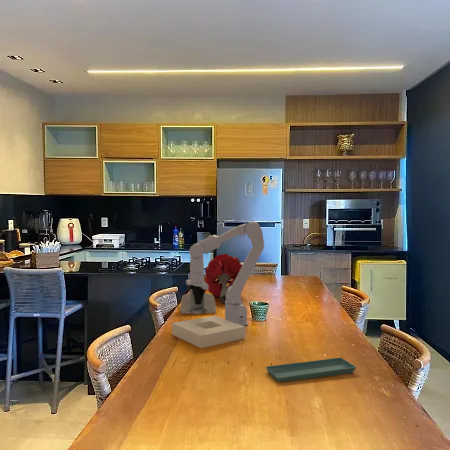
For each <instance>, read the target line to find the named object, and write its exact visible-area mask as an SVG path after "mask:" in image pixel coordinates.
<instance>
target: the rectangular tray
mask: <svg viewBox="0 0 450 450" xmlns="http://www.w3.org/2000/svg"><path fill="white" fill-rule="evenodd" d="M265 369H266V370H267V372H268V374H269V375H270V376H271V377H272V378H273V379H275V380H276V381H277V382H278V383H285V382H294V381H299V380H309V379H317V378H324V377H333V376H340V375H347V374H353V373H354V371H355V370H356V369H357V366H355V365H354V364H353V363H351V362H349V361H347V360H346V359H345V358H343V357H333V358H327V359H326V358H325V359H319V360H310V361H302V362H293V363H285V364H284V363H283V364H278V365H277V364H275V365H269V366H265Z"/></svg>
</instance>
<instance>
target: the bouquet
mask: <svg viewBox="0 0 450 450" xmlns="http://www.w3.org/2000/svg"><path fill="white" fill-rule="evenodd" d="M241 263H242V262H241V261H240V259H239V257H237V256H230V255H229V254H228V253H225V254H224V253H223V254H217V255H216V256H215V257H213V259H211V260H210V261H209V262H208V264H207V266H206V267H205V268H204V272H205V273H204V274H205V277H204V282H205V283H206V284H208V289H207V291H208V292H209V294H211V295H213V296H214V297H217V298H219V299H220V301H221V303H224V304H225V301H226V293H227V289H228V287H229V286H231V285H232V284H233V282H234V281H235V279H236V277H237V275H238V273H239V271H240V269H241V267H242V265H243V264H241Z"/></svg>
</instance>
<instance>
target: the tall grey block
mask: <svg viewBox="0 0 450 450" xmlns="http://www.w3.org/2000/svg"><path fill="white" fill-rule="evenodd" d="M189 293H190V308H187V312H190V313H191V314H192V315H198V314H207V313H206V312H207V309H206V308H204V295H203V298H202V302H201V304H199V305H196V300H195V293H194V291H193V289H190V292H189Z"/></svg>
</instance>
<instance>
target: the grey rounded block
mask: <svg viewBox="0 0 450 450" xmlns="http://www.w3.org/2000/svg"><path fill="white" fill-rule="evenodd" d="M180 301H181V303H180V308H179V311H180V314H181V315H182V314H183V315H184V314H187V315H188V314H189V315H190V314H192V313H190V312H187V308H190V292H189V293H187V294H186V293H185V294H183V295H182V296H181V300H180ZM204 308H206V309H207V312H206V313H205V314H216V313H217V307H216V299H215V295H213V294H212V293H208V292H205V293H204Z"/></svg>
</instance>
